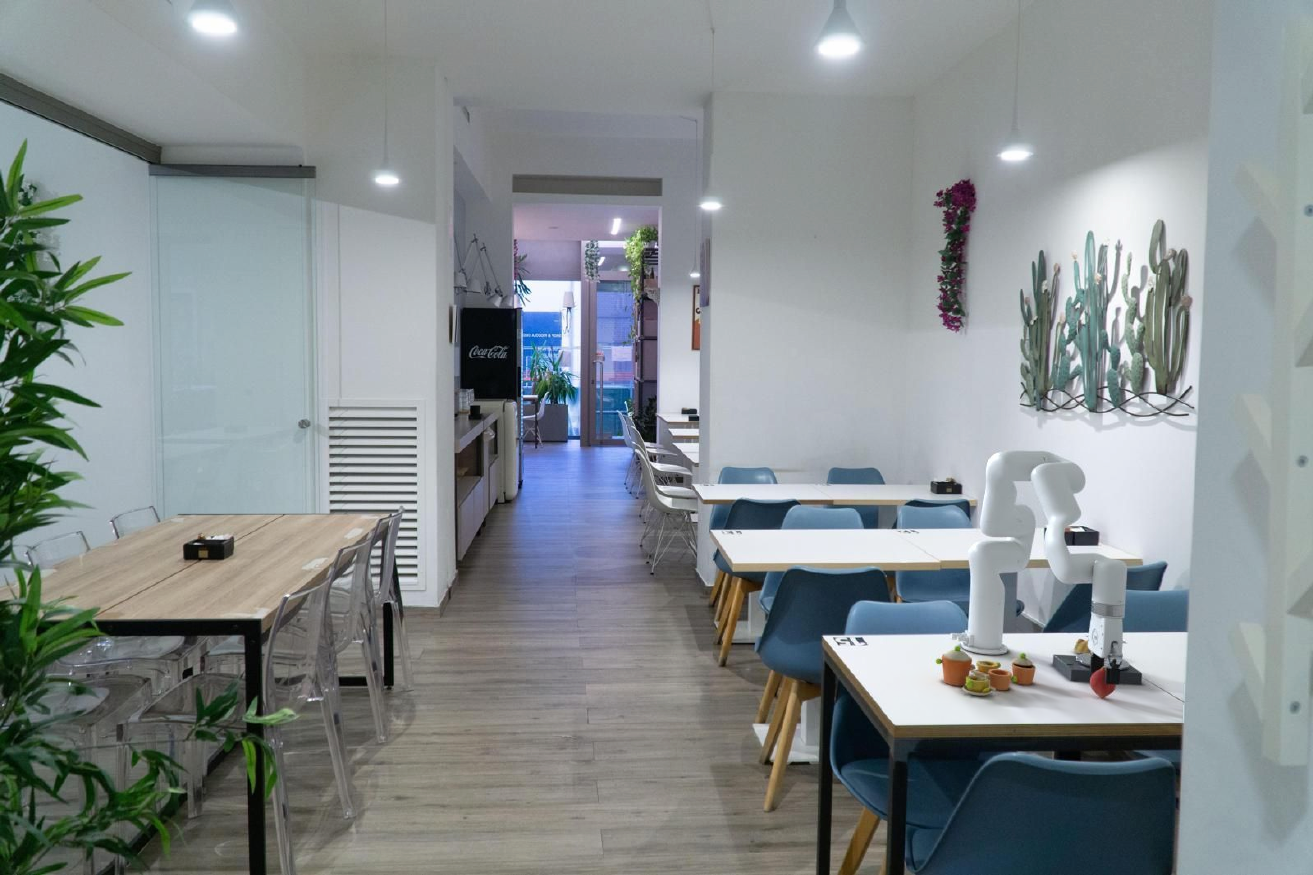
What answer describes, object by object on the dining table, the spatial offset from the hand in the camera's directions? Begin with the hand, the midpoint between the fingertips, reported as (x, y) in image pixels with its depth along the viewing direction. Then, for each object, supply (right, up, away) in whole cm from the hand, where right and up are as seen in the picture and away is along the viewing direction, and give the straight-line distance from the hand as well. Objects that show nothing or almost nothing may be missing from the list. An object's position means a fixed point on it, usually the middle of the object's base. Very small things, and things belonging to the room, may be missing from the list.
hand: (1104, 678), depth 244 cm
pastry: (+14, -3, +40) cm, 42 cm away
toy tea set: (-26, -4, +9) cm, 28 cm away
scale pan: (+8, -1, +20) cm, 22 cm away
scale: (+7, -4, +20) cm, 22 cm away
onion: (0, -5, +1) cm, 5 cm away
